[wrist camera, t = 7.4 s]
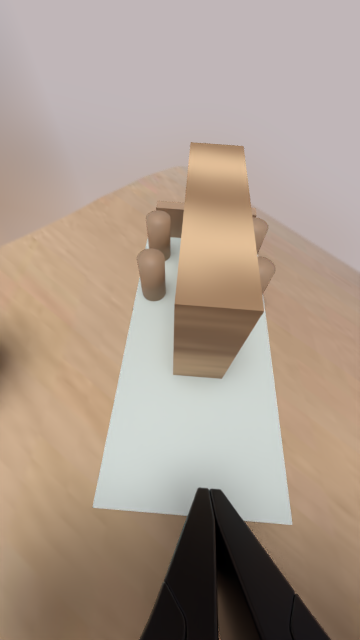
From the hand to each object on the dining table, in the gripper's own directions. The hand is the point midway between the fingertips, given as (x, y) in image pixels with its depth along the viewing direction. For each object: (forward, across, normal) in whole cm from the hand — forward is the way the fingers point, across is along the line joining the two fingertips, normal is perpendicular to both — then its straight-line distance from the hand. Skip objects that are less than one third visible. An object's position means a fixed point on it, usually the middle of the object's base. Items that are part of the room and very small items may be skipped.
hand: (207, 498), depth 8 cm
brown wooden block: (+14, 0, +5) cm, 14 cm away
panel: (+12, 0, +2) cm, 12 cm away
